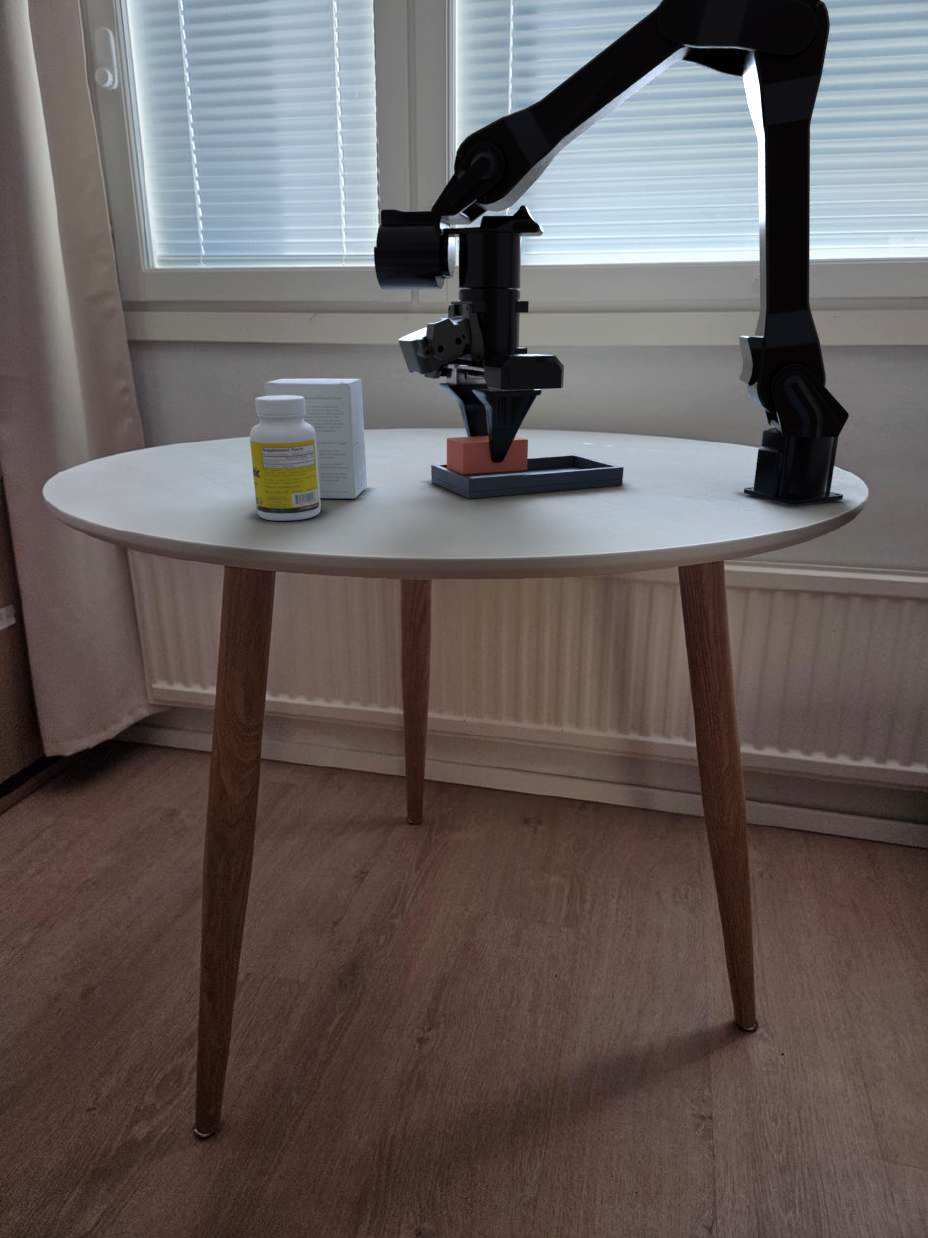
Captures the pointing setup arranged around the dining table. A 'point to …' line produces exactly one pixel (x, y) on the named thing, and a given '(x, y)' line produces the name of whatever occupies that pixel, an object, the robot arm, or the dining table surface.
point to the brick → (484, 455)
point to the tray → (531, 477)
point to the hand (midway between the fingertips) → (487, 458)
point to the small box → (332, 430)
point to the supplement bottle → (284, 460)
